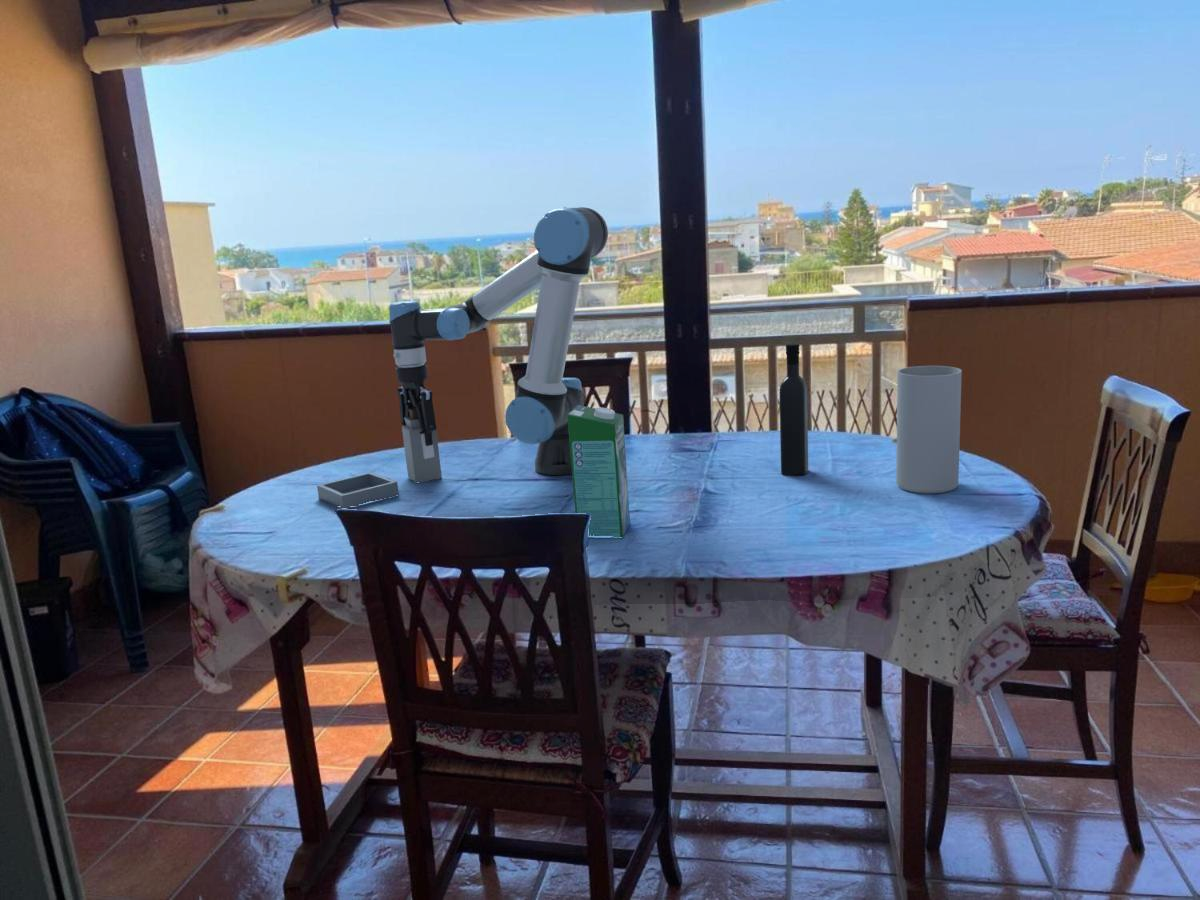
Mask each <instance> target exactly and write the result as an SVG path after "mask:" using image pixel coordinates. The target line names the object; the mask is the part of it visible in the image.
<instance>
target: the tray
mask: <svg viewBox="0 0 1200 900" xmlns="http://www.w3.org/2000/svg"><path fill="white" fill-rule="evenodd" d="M316 488H317V495H318V500H320V501H322V502H324V501H325V502H324V503H326V502H327V503H326V504H328V503H329V505H330V506H333V507H335V506H336V507H335V508H337V509H339V508H338V507H337V506H341V507H340V508H352V509H354V508H353V507H350V506H358V505H359V504H363V503H366V502H369V501H375V500H380V499H384V498H389V497H393V496H396V495H399V496H400V492H399V484H398V481H397V480H396V481H395V480H393V479H390V478H387V477H384V476H383V475H379V474H376V473H374V472H365V473H363V474H358V475H353V476H349V477H346V478H341V479H337V480H333V481H329V482H325V483H320V484H317V485H316ZM393 498H394V497H393ZM389 499H390V498H389Z"/></svg>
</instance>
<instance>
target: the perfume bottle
mask: <svg viewBox="0 0 1200 900" xmlns="http://www.w3.org/2000/svg"><path fill="white" fill-rule="evenodd" d="M408 410H409V414H410V417H404V419H405V421H406V424H407V426H405V425H404V426H402V425H401V432H402V438H403V448H404V453H405V454H404V456H405V462H406V470H407V478H408V477H409V478H410V479H411V481H412V480H413V481H414V482H415V484H418V483H417V482H421V483H423V482H422V481H426V482H430V481H429V480H432V481H434V480H433V479H437V480H441V479H440V478H442V476H443V475H442V470H441V468H442V467H441V460H440V452H439V451H440V449H439V443H438V433H437V429H436V430H434V431H433V432H432V440H433V448H434V457H432V458H428V459H424V457H423V449H422V441H421V434H420V432H421V431H422V429H421V426H420V422H419V418H418V415H417V411H416V408H410V409H408ZM409 478H408V479H409ZM410 479H409V480H410ZM413 481H412V482H413ZM414 482H413V483H414Z"/></svg>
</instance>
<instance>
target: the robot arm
mask: <svg viewBox="0 0 1200 900" xmlns="http://www.w3.org/2000/svg"><path fill="white" fill-rule="evenodd" d="M533 233H534V234H533V243H534V247H535V249H536V250H535V251H534V252H532V253H531V254H529V255H528V256H527V257H525V258H524V259H522V260H521V261H520V262H518V263H517V264H515V265H514V266H512V267H511V268H510V269H508V270H507V271H505V272H504V273H502V274H501V275H499V277H497V278H495V279H494V280H492V281H491V282H489V283H488V284H487V285H485V286H484V287H483V288H481V289H480V290H479V291H477V292H476V293H474V294H473V295H471V296H470V297H469V298H467V299H465V300H464V301H463V302H462V303H458V304H454V305H449V306H446V307H439V308H428V309H427V308H421V305H420V302H419V300H405V301H404V300H403V301H396V302H392V303H390V304H389V306H388V310H389V311H388V313H389V325H390V332H391V337H392V345H393V346H392V347H393V355H392V356H393V358H394V361H395V362H394V363H395V365H396V366H397V367H396V368H395V372H396V378H397V382H398V383H402V386H401V387H400V386H399V387H397V388H396V391H397V395H398V401H399V402H398V403H399V410H400V425H401V427H402V426H407V424H406V421H405V419H404V417H410V414H409V410H408V409H410V408H416V411H417V415H418V418H419V422H420V426H421V429H422V431H421V432H420V434H421V441H422V449H423V457H424V459H428V458H432V457H434V448H433V440H432V432H433V431H434V430H436V431H437V422H436V417H435V416H436V415H435V409H434V404H433V391H432V390H427V389H426V386H425V383H424V382H425V381H426V380H428V378H429V372H428V365H427V364H425V363H426V362H427V355H426V347H425V341H450V342H451V341H455V340H457V341H458V340H463V339H465V337H467V334H471V333H477V332H479V331H481V330H483V329H485V328H486V326H487V325H488V324H489V322H491V320H493V319H494V318H496V317H497V316H499V315H501V314H502V313H504V311H506V310H508V309H509V308H511V307H512V306H514V305H515V304H516V303H518V302H520V301H521V300H522V299H524V298H526V297H527V296H528V295H530V294H531V293H533V292H534V291H536V290H538V289H539V294H538V298H537V304H536V305H537V306H536V311H535V317H534V323H533V329H532V335H531V342H530V346H529V348H530V349H529V351H528V353H529V354H528V359H527V365H526V371H525V375H524V376H523V377H521V378H519V379H518V380H517V385H516V386H517V387H516V392H515V397H514V399H512V401H510V403H509V404H508V405H507V408H506V410H505V415H504V416H505V417H504V419H505V423H506V427H507V429H508V431H510V433H511V434H512V436H513V437H514V438H515V439H517V440H518V441H520V442H521V443H524V444H529V445H537V444H538V445H537V451H536V456H535V459H534V470H535V472H537V473H539V474H542V475H546V476H565V475H572V465H571V453H570V440H569V428H568V414H569V413H570V412H571V411H572V410H573V409H574V408H576V407H577V406H578V405H581V406H584V395H583V394H584V390H583V387H582V382H581V380H580V379H579V378H578V377H564V372H565V366H566V362H567V361H566V360H567V357H568V356H567V355H568V350H569V344H570V338H571V332H572V327H573V322H574V317H575V312H576V306H577V299H578V296H579V295H578V294H579V290H580V289H579V287H580V283H581V282H582V280H583V279H584V278H586V277H587V276H588V275H589V272H590V267H591V260H592V259H593V258H595V257H596V256H598V255H599V254H600V253H602V251H603V250H604V249H605V247H606V245H607V242H608V239H609V238H608V237H609V229H608V225H607V223H606V220H605V219H604V217H603V216H602V215H601V214H600V213H599V212H598V211H596V210H594V209H592V208H589V207H580V206H579V207H566V206H564V207H558V208H556V209H553V210H550V211H548V212H547V213H545V214H544V215H543V216H542V217H541V218H540V219H539V220H538V222H537V224H536V226H535V229H534V232H533Z"/></svg>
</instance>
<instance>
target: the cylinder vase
mask: <svg viewBox="0 0 1200 900" xmlns="http://www.w3.org/2000/svg"><path fill="white" fill-rule="evenodd" d="M962 372H963V371H962V369H961V368H958V367H954V366H946V365H919V366H907V367H904V368H903V367H902V368H901V369H898V370H897V383H896V384H897V389H896V390H897V393H896V394H897V395H896V396H897V397H896V402H897V403H896V408H897V409H896V478H895V480H896V485H897V486H898V487H899V489H902V490H904V491H906V492H910V493H917V494H924V495H925V494H927V495H929V494H930V495H933V494H935V495H936V494H944V493H949V492H952V491H954V490H955V489H957V487H959V482H960V481H959V480H960V479H959V475H960V471H959V470H960V447H961V446H960V437H961V409H962V408H961V405H962V404H961V403H962V377H963V376H962Z"/></svg>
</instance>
